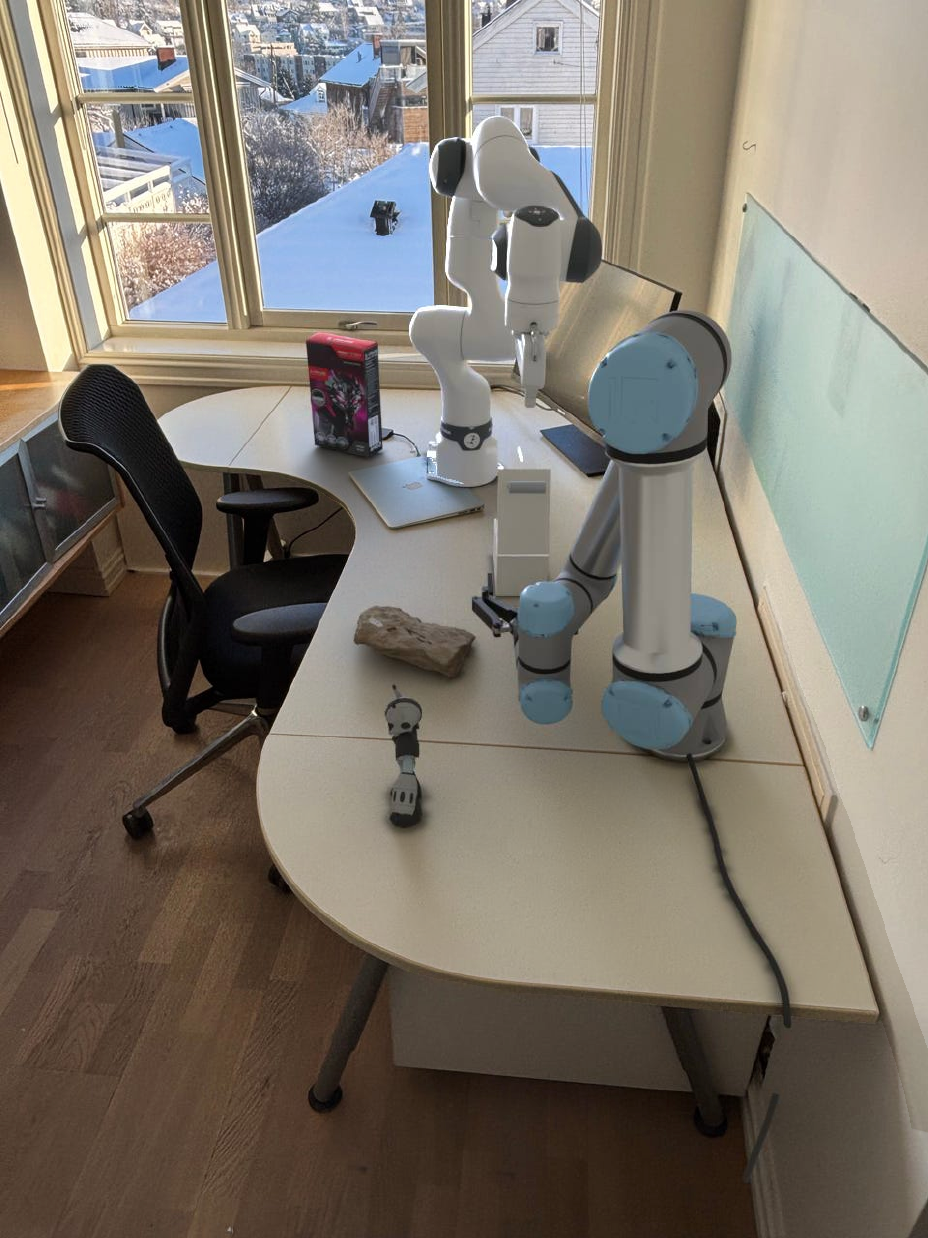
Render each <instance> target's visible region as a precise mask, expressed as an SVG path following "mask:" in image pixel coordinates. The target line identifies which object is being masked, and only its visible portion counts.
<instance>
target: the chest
mask: <svg viewBox="0 0 928 1238" xmlns="http://www.w3.org/2000/svg"><path fill="white" fill-rule="evenodd" d="M497 519H498V518H494V519H493V541H492V542H493V543H492V545H493V546H492V561H493V564H492V565H493V575H494V588H495V596H496V597H520V595H521V593H522V591H523V590H524V589H525V588H526V587H528V586H530V585H535V584H536V583H538V582H548V574H549V573H548V572H549V561H550V556H549V555H550V554H497Z"/></svg>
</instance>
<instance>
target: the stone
mask: <svg viewBox="0 0 928 1238" xmlns="http://www.w3.org/2000/svg"><path fill="white" fill-rule="evenodd" d="M356 624H357V626H356V629H355V633H354V635H353V642H354V644H355V645H357V646H358V645H365V646H369V647H370V648H371V649H372V650H373V652H376V653H377V654H382V655H386V656H387V657H391V658H394V659H399V660H401V661H404V662H406V663H410V664H411V665H414V666H417V667H419V668H420V669H423V670H425V671H433V672H438V673H440V674H442V675H443V677H446V678H447V677H448V678H449V679H450V678H454V677H457V675H458V674H459V673H460V671H461V669H462V667H463V662H464V658H466V656H467V654H468V652H469V650H470V649H471V647H472V644H473V642H474V641H476V638H477V637H476V636H475V634H473V633H472V632H470V631H467V629H464V628H460V627H454V626H448V625H447V626H446V625H441V624H438V623H435V622H433V623H431V622H424V621H422V620H421V619H420V618H419V617H417V616H415V617H414V616H412V615H411V614H409V613H408V612H405V611H404V610H403V609H402V608H401V607H396V606H391V605H385V606H382V605H381V606H380V605H374V606H372V607H369V608H368V609H366V610H364V611H363V612H361V613H360V614H359V616H358V619H357V623H356Z"/></svg>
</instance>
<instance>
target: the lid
mask: <svg viewBox="0 0 928 1238" xmlns="http://www.w3.org/2000/svg"><path fill="white" fill-rule="evenodd" d="M551 472H552V470H551V469H550V468H504V469H498V476H497V518H496V519H497V554H548V555H550V532H551V530H550V529H551V527H550V526H551V477H552V476H551Z"/></svg>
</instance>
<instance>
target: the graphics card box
mask: <svg viewBox="0 0 928 1238" xmlns="http://www.w3.org/2000/svg"><path fill="white" fill-rule="evenodd" d="M305 346H306V347H305V348H306V358H307V367H308V379H309V380H308V381H309V393H310V403H311V404H310V405H311V415H312V424H313V425H312V426H313V436H314V437H313V438H314V446H317V447H322V448H327V449H329V450H330V449H331V450H335V451H339V452H344V453H347V454H352V455H356V456H361V457H366V458H371V457H372V456H373V455H376V454H377V453H378V452H381V451H382V450H383V449H384V448H383V428H382V427H383V426H382V410H381V407H382V406H381V389H380V388H381V386H380V368H379V367H380V366H379V365H380V363H379V343H378V341H375V340H374V341H371V340H367V339H366V340H364V339H360V338H354V337H349V336H344V335H338V334H334V333H333V334H332V333H327V332H322V331H321V332H317V333H314V334H313V335H311V336H309V337H308V338H306V340H305Z"/></svg>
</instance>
